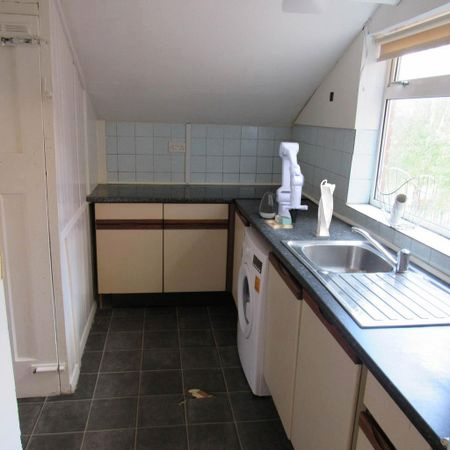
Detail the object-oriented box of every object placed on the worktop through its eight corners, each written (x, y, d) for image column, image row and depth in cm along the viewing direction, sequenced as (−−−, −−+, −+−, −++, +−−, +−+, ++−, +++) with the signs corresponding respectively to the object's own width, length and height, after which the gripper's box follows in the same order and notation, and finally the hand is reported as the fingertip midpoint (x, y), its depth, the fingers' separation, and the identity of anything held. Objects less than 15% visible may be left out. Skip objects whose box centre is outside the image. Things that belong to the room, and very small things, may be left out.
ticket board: (282, 222, 246) (283, 214, 245) (292, 228, 234) (293, 219, 233) (264, 223, 243) (265, 214, 241) (273, 228, 230) (274, 220, 229)
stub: (287, 222, 240) (287, 217, 239) (291, 224, 235) (291, 219, 234) (278, 222, 238) (279, 217, 238) (282, 224, 234) (283, 219, 233)
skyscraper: (312, 233, 225) (317, 179, 219) (327, 233, 226) (333, 179, 219) (316, 237, 217) (322, 181, 210) (332, 237, 218) (338, 182, 211)
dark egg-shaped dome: (271, 220, 250) (273, 194, 246) (255, 217, 255) (257, 192, 251) (279, 217, 258) (281, 192, 255) (263, 214, 263) (265, 190, 260)
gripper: (286, 199, 228) (284, 224, 231) (311, 199, 232) (308, 223, 235) (280, 197, 234) (278, 221, 238) (305, 196, 239) (302, 220, 242)
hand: (293, 222), depth 237 cm, fingers closed
